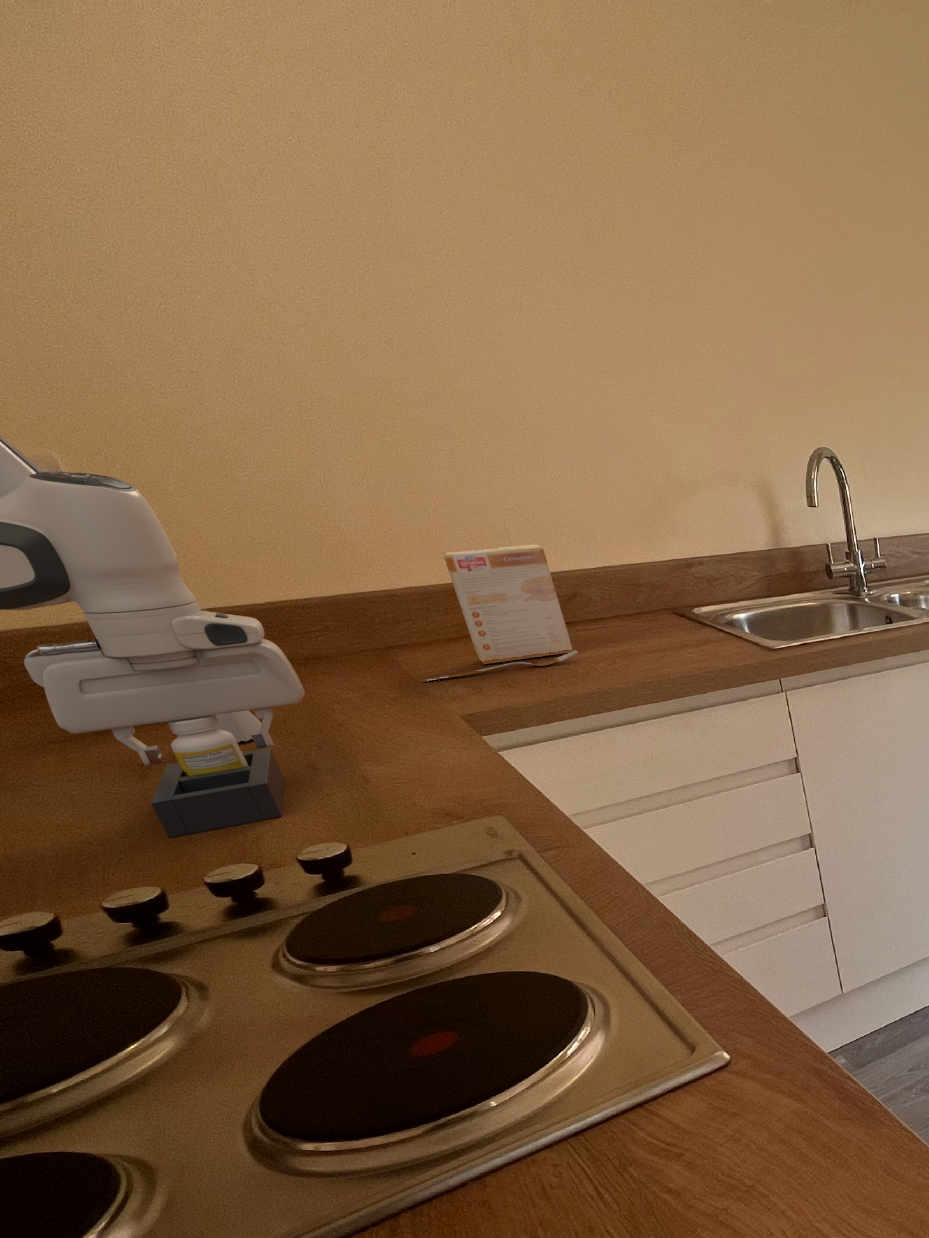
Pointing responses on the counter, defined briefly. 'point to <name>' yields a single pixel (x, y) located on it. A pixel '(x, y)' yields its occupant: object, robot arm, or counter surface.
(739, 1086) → the counter surface
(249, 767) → the holder
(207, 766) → the supplement bottle
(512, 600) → the coffeecake box
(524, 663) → the fork
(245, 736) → the flask
